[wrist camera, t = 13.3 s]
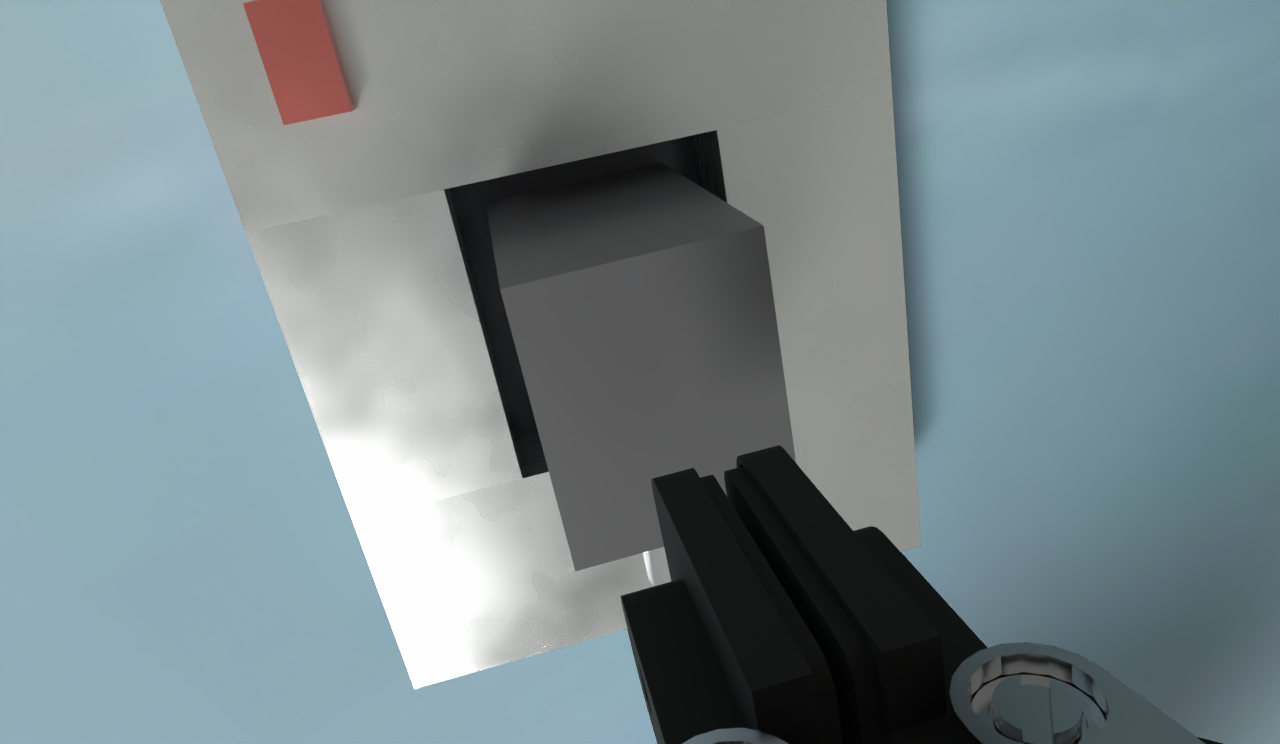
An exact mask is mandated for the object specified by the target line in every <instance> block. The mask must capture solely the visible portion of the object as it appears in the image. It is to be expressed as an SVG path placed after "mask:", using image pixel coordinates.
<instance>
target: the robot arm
mask: <svg viewBox="0 0 1280 744" xmlns="http://www.w3.org/2000/svg"><path fill="white" fill-rule="evenodd" d="M736 466H737V468H735V469H731V470H727V471H725V472H724V481H725V487H726V493H727V496H726V494H725V493H724V491H723V489H722V488H721V486H720V484H719V483H718V481H717V480H716V478H715V476H714V475H708V476H705V477H701V478H700V477H699V475H698V473H697V472H696V470H695V469H694V468H690V469H687V470H683V471H679V472H675V473H672V474H668V475H664V476H660V477H656V478H653V479H651V483H652V490H653V496H654V501H655V505H656V510H657V515H658V520H659V525H660V529H661V534H662V539H663V544H664V549H665V553H666V558H667V563H668V568H669V573H670V577H671V582H668V583H664V584H661V585H657V586H654V587H650V588H646V589H643V590H639V591H636V592H632V593H628V594H625V595H621V596H620V597H621V603H622V607H623V612H624V616H625V621H626V625H627V629H628V633H629V637H630V642H631V646H632V650H633V654H634V658H635V662H636V666H637V670H638V674H639V678H640V682H641V686H642V690H643V694H644V697H645V701H646V705H647V708H648V712H649V716H650V719H651V723H652V726H653V730H654V733H655V737H656V740H657V743H658V744H1222V743H1218V742H1214V741H1210V740H1206V739H1202V738H1199V737H1196V736H1194V735H1193V734H1192V733H1190V732H1189V731H1187V730H1186V729H1185V728H1183V727H1182V726H1181V725H1179V724H1178V723H1177V722H1175V721H1174V720H1172V719H1171V718H1170V717H1168V716H1167V715H1166V714H1164V713H1163V712H1161V711H1160V710H1159V709H1157V708H1156V707H1155V706H1153V705H1152V704H1151V703H1149V702H1148V701H1146V700H1145V699H1144V698H1142V697H1141V696H1140V695H1138V694H1137V693H1136V692H1134V691H1133V690H1131V689H1130V688H1129V687H1127V686H1126V685H1125V684H1123V683H1122V682H1120V681H1119V680H1118V679H1116V678H1115V677H1114V676H1112V675H1111V674H1110V673H1108V672H1107V671H1105V670H1104V669H1103V668H1101V667H1100V666H1098V665H1096V664H1094V663H1093V662H1091V661H1089V660H1087V659H1086V658H1084V657H1082V656H1080V655H1079V654H1076V653H1073V652H1070V651H1067V650H1064V649H1061V648H1058V647H1055V646H1050V645H1043V644H1035V643H1027V642H1025V643H1009V644H1000V645H996V646H993V647H990V648H987V647H986V646H985V645H984V643H983V642H982V641H981V640H980V639H979V638H978V637H977V636H976V635H975V633H974V632H973V631H972V630H971V629H970V628H969V627H968V626H967V625H966V624H965V622H964V621H963V620H962V619H961V618H960V617H959V616H958V615H957V614H956V613H955V611H954V610H953V609H952V608H951V607H950V606H949V605H948V604H947V603H946V601H945V600H944V599H943V598H942V597H941V596H940V595H939V594H938V593H937V592H936V590H935V589H934V588H933V587H932V586H931V585H930V584H929V583H928V582H927V581H926V579H925V578H924V577H923V576H922V575H921V574H920V573H919V572H918V571H917V569H916V568H915V567H914V566H913V565H912V564H911V563H910V562H909V561H908V560H907V558H906V557H905V556H904V555H903V554H902V553H901V552H900V551H899V550H898V548H897V547H896V546H895V545H894V544H893V543H892V542H891V541H890V540H889V539H888V537H887V536H886V535H885V534H884V533H883V532H882V531H880V530H879V529H878V528H877V527H873V526H869V527H865V528H862V529H858V530H855V531H853V530H852V529H851V528H850V526H849V525H848V524H847V523H846V522H845V520H844V519H843V518H842V517H841V516H840V515H839V513H838V512H837V511H836V510H835V509H834V507H833V506H832V505H831V504H830V503H829V502H828V500H827V499H826V498H825V497H824V496H823V494H822V493H821V492H820V491H819V490H818V489H817V487H816V486H815V485H814V484H813V483H812V481H811V480H810V479H809V478H808V477H807V476H806V474H805V473H804V472H803V471H802V470H801V468H800V467H799V466H798V465H797V464H796V462H795V461H794V460H793V459H792V458H791V457H790V455H789V454H788V453H787V452H786V451H785V449H784V448H783V447H781V446H780V445H778V446H774V447H770V448H766V449H762V450H759V451H755V452H751V453H747V454H744V455H740V456H737V459H736Z"/></svg>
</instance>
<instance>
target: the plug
mask: <svg viewBox="0 0 1280 744" xmlns="http://www.w3.org/2000/svg"><path fill="white" fill-rule="evenodd" d="M486 209H487V215H488V221H489V227H490V233H491V239H492V245H493V251H494V256H495V262H496V268H497V274H498V280H499V286H500V291H501V295H502V299H503V302H504V306H505V310H506V314H507V317H508V321H509V325H510V328H511V332H512V336H513V340H514V343H515V347H516V351H517V355H518V358H519V362H520V366H521V370H522V373H523V377H524V381H525V385H526V388H527V392H528V396H529V400H530V403H531V407H532V411H533V414H534V418H535V422H536V426H537V429H538V433H539V437H540V441H541V444H542V448H543V452H544V456H545V459H546V463H547V467H548V471H549V474H550V478H551V482H552V486H553V489H554V493H555V497H556V500H557V504H558V508H559V512H560V515H561V519H562V523H563V527H564V530H565V534H566V538H567V542H568V545H569V549H570V553H571V557H572V560H573V564H574V568H575V572H576V571H579V570H583V569H586V568H590V567H593V566H597V565H601V564H604V563H608V562H611V561H615V560H618V559H622V558H626V557H629V556H633V555H636V554H640V553H643V557H644V561H645V565H646V570H647V574H648V578H649V581H650V582H651V583H652V584H653V585H654V586H657V585H661V584H664V583H668V582H671V577H670V573H669V568H668V563H667V558H666V553H665V549H664V544H663V539H662V534H661V529H660V525H659V520H658V515H657V510H656V505H655V501H654V496H653V490H652V483H651V479H653V478H656V477H660V476H664V475H668V474H672V473H675V472H679V471H683V470H687V469H690V468H694V469H695V470H696V472H697V473H698V475H699V477H700V478H701V477H705V476H708V475H714V476H715V478H716V480H717V481H718V483H719V484H720V486H721V488H722V489H723V491H724V493H725V494H726V496H727V493H726V487H725V481H724V472H725V471H727V470H731V469H735V468H737V466H736V459H737V456H740V455H744V454H747V453H751V452H755V451H759V450H762V449H766V448H770V447H774V446H778V445H780V446H781V447H783V448H784V449H785V451H786V452H787V453H788V454H789V455H790V457H791V458H792V459H793V460H794V461H795V462H796V459H795V451H794V444H793V436H792V429H791V422H790V414H789V407H788V400H787V392H786V385H785V378H784V370H783V363H782V356H781V348H780V341H779V334H778V326H777V319H776V312H775V304H774V297H773V290H772V282H771V275H770V268H769V260H768V253H767V246H766V238H765V231H764V225H762V224H760V223H759V222H757V221H756V220H754V219H752V218H751V217H749V216H747V215H746V214H744V213H743V212H741V211H739V210H738V209H736V208H734V207H733V206H731V205H730V204H728V203H726V202H725V201H723V200H721V199H720V198H718V197H717V196H715V195H713V194H712V193H710V192H708V191H707V190H705V189H704V188H702V187H700V186H699V185H697V184H695V183H694V182H692V181H691V180H689V179H687V178H686V177H684V176H682V175H681V174H679V173H678V172H676V171H674V170H673V169H671V168H670V167H668V166H666V165H665V164H663V163H659V164H654V165H650V166H646V167H641V168H637V169H633V170H628V171H624V172H620V173H615V174H611V175H606V176H602V177H598V178H593V179H589V180H585V181H580V182H576V183H572V184H567V185H563V186H559V187H554V188H550V189H546V190H541V191H537V192H533V193H528V194H524V195H520V196H515V197H511V198H507V199H502V200H498V201H494V202H489V203H486Z"/></svg>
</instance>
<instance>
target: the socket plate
mask: <svg viewBox="0 0 1280 744" xmlns="http://www.w3.org/2000/svg"><path fill="white" fill-rule="evenodd" d="M160 1H161V4H162V7H163V9H164V12H165V15H166V18H167V20H168V23H169V26H170V28H171V31H172V34H173V37H174V39H175V42H176V45H177V47H178V50H179V53H180V56H181V58H182V61H183V64H184V66H185V69H186V72H187V74H188V77H189V80H190V83H191V85H192V88H193V91H194V93H195V96H196V99H197V102H198V104H199V107H200V110H201V112H202V115H203V118H204V120H205V123H206V126H207V129H208V131H209V134H210V137H211V139H212V142H213V145H214V148H215V150H216V153H217V156H218V158H219V161H220V164H221V167H222V169H223V172H224V175H225V177H226V180H227V183H228V185H229V188H230V191H231V194H232V196H233V199H234V202H235V204H236V207H237V210H238V213H239V215H240V218H241V221H242V223H243V226H244V229H245V231H246V234H247V237H248V240H249V242H250V245H251V248H252V250H253V253H254V256H255V259H256V261H257V264H258V267H259V269H260V272H261V275H262V278H263V280H264V283H265V286H266V288H267V291H268V294H269V296H270V299H271V302H272V305H273V307H274V310H275V313H276V315H277V318H278V321H279V324H280V326H281V329H282V332H283V334H284V337H285V340H286V342H287V345H288V348H289V351H290V353H291V356H292V359H293V361H294V364H295V367H296V370H297V372H298V375H299V378H300V380H301V383H302V386H303V389H304V391H305V394H306V397H307V399H308V402H309V405H310V407H311V410H312V413H313V416H314V418H315V421H316V424H317V426H318V429H319V432H320V435H321V437H322V440H323V443H324V445H325V448H326V451H327V453H328V456H329V459H330V462H331V464H332V467H333V470H334V472H335V475H336V478H337V481H338V483H339V486H340V489H341V491H342V494H343V497H344V500H345V502H346V505H347V508H348V510H349V513H350V516H351V518H352V521H353V524H354V527H355V529H356V532H357V535H358V537H359V540H360V543H361V546H362V548H363V551H364V554H365V556H366V559H367V562H368V564H369V567H370V570H371V573H372V575H373V578H374V581H375V583H376V586H377V589H378V592H379V594H380V597H381V600H382V602H383V605H384V608H385V611H386V613H387V616H388V619H389V621H390V624H391V627H392V629H393V632H394V635H395V638H396V640H397V643H398V646H399V648H400V651H401V654H402V657H403V659H404V662H405V665H406V667H407V670H408V673H409V675H410V678H411V681H412V684H413V686H414V689H416V688H420V687H423V686H427V685H430V684H434V683H438V682H441V681H445V680H448V679H452V678H455V677H459V676H462V675H466V674H469V673H473V672H477V671H480V670H484V669H487V668H491V667H494V666H498V665H501V664H505V663H508V662H512V661H516V660H519V659H523V658H526V657H530V656H533V655H537V654H540V653H544V652H548V651H551V650H555V649H558V648H562V647H565V646H569V645H572V644H576V643H579V642H583V641H587V640H590V639H594V638H597V637H601V636H604V635H608V634H611V633H615V632H619V631H622V630H626V629H627V625H626V621H625V616H624V612H623V607H622V603H621V597H620V596H621V595H625V594H628V593H632V592H636V591H639V590H643V589H646V588H650V587H654V585H653V584H652V583H651V582H650V581H649V578H648V574H647V570H646V565H645V561H644V557H643V553H640V554H636V555H633V556H629V557H626V558H622V559H618V560H615V561H611V562H608V563H604V564H601V565H597V566H593V567H590V568H586V569H583V570H579V571H576V572H575V568H574V564H573V560H572V557H571V553H570V549H569V545H568V542H567V538H566V534H565V530H564V527H563V523H562V519H561V515H560V512H559V508H558V504H557V500H556V497H555V493H554V489H553V486H552V482H551V478H550V474H549V471H548V467H547V463H546V459H545V456H544V452H543V448H542V444H541V441H540V437H539V433H538V429H537V426H536V422H535V418H534V414H533V411H532V407H531V403H530V400H529V396H528V392H527V388H526V385H525V381H524V377H523V373H522V370H521V366H520V362H519V358H518V355H517V351H516V347H515V343H514V340H513V336H512V332H511V328H510V325H509V321H508V317H507V314H506V310H505V306H504V302H503V299H502V295H501V291H500V286H499V280H498V274H497V268H496V262H495V256H494V251H493V245H492V239H491V233H490V227H489V221H488V215H487V209H486V203H489V202H494V201H498V200H502V199H507V198H511V197H515V196H520V195H524V194H528V193H533V192H537V191H541V190H546V189H550V188H554V187H559V186H563V185H567V184H572V183H576V182H580V181H585V180H589V179H593V178H598V177H602V176H606V175H611V174H615V173H620V172H624V171H628V170H633V169H637V168H641V167H646V166H650V165H654V164H659V163H663V164H665V165H666V166H668V167H670V168H671V169H673V170H674V171H676V172H678V173H679V174H681V175H682V176H684V177H686V178H687V179H689V180H691V181H692V182H694V183H695V184H697V185H699V186H700V187H702V188H704V189H705V190H707V191H708V192H710V193H712V194H713V195H715V196H717V197H718V198H720V199H721V200H723V201H725V202H726V203H728V204H730V205H731V206H733V207H734V208H736V209H738V210H739V211H741V212H743V213H744V214H746V215H747V216H749V217H751V218H752V219H754V220H756V221H757V222H759V223H760V224H762V225H764V231H765V238H766V246H767V253H768V260H769V268H770V275H771V282H772V290H773V297H774V304H775V312H776V319H777V326H778V334H779V341H780V348H781V356H782V363H783V370H784V378H785V385H786V392H787V400H788V407H789V414H790V422H791V429H792V436H793V444H794V451H795V459H796V464H797V465H798V466H799V467H800V468H801V470H802V471H803V472H804V473H805V474H806V476H807V477H808V478H809V479H810V480H811V481H812V483H813V484H814V485H815V486H816V487H817V489H818V490H819V491H820V492H821V493H822V494H823V496H824V497H825V498H826V499H827V500H828V502H829V503H830V504H831V505H832V506H833V507H834V509H835V510H836V511H837V512H838V513H839V515H840V516H841V517H842V518H843V519H844V520H845V522H846V523H847V524H848V525H849V526H850V528H851V529H852V530H853V531H855V530H858V529H862V528H865V527H869V526H873V527H877V528H878V529H879V530H880V531H882V532H883V533H884V534H885V535H886V536H887V537H888V539H889V540H890V541H891V542H892V543H893V544H894V545H895V546H896V547H897V548H898V550H899V551H900V552H902V551H906V550H910V549H913V548H917V547H920V546H921V537H920V521H919V506H918V490H917V474H916V458H915V443H914V427H913V411H912V396H911V380H910V364H909V348H908V333H907V317H906V301H905V285H904V270H903V254H902V238H901V222H900V207H899V191H898V175H897V159H896V144H895V128H894V112H893V97H892V81H891V65H890V49H889V34H888V18H887V2H886V0H160Z"/></svg>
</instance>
